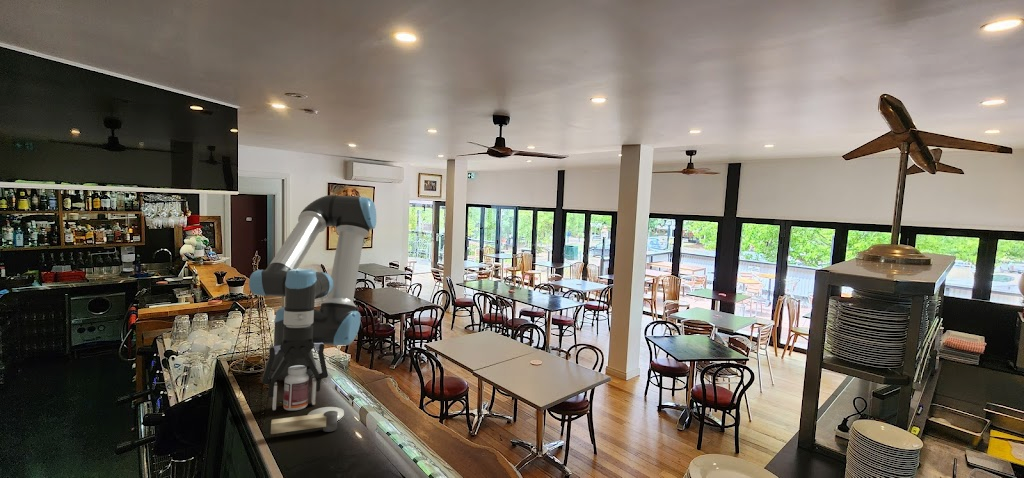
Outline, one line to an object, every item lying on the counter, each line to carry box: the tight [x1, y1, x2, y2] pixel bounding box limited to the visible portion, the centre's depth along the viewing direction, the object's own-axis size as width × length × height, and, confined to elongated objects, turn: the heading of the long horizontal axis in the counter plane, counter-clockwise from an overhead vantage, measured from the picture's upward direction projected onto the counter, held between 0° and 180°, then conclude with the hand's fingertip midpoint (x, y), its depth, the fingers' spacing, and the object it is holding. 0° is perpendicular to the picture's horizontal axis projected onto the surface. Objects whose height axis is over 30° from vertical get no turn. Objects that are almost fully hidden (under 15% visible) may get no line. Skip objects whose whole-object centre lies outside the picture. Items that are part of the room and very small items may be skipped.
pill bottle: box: [282, 365, 310, 412], centre depth 120 cm, size 6×6×11 cm
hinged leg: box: [270, 411, 338, 435], centre depth 105 cm, size 15×3×4 cm, turn 117°
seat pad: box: [307, 406, 345, 422], centre depth 115 cm, size 9×9×1 cm
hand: (294, 405), depth 120 cm, fingers open, 9 cm apart
